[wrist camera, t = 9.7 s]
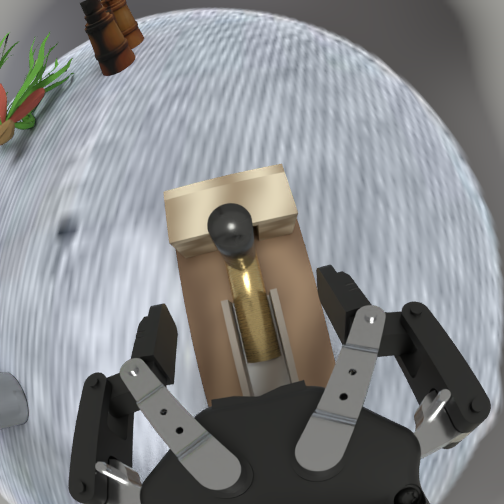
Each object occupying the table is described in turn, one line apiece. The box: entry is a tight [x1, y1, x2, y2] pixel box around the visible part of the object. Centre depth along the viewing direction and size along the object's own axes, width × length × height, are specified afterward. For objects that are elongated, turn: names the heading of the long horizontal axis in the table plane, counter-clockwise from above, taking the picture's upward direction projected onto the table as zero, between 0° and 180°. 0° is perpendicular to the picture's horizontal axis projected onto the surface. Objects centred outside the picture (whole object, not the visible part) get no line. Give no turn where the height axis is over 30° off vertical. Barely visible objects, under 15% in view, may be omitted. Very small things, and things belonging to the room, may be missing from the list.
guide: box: [164, 164, 335, 407], centre depth 25 cm, size 14×29×7 cm, turn 13°
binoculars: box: [80, 0, 144, 76], centre depth 35 cm, size 18×8×20 cm, turn 5°
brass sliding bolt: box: [207, 203, 281, 363], centre depth 23 cm, size 3×16×11 cm, turn 13°
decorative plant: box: [0, 33, 74, 146], centre depth 32 cm, size 26×25×30 cm
